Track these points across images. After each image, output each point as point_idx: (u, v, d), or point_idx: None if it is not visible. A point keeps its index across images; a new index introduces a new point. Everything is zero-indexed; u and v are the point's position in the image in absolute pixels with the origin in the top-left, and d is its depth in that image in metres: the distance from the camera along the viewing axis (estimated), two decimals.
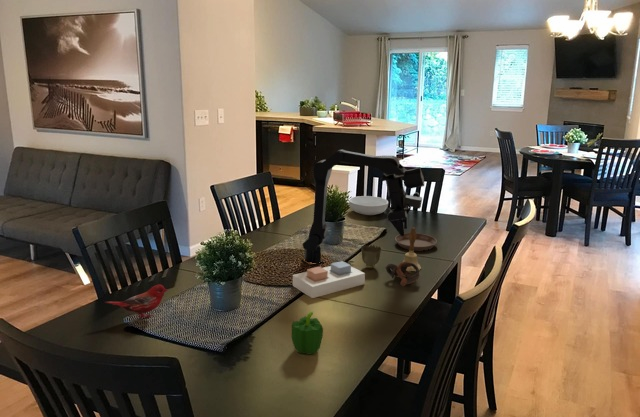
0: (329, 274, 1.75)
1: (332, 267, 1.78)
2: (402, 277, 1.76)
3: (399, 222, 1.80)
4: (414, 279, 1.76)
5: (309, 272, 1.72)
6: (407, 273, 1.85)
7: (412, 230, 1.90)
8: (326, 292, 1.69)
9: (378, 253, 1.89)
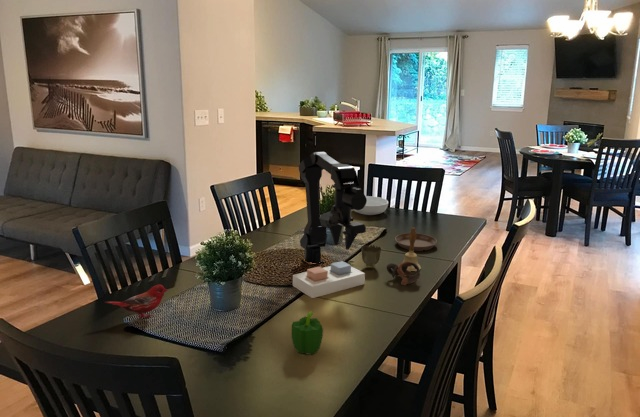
0: (329, 274, 1.75)
1: (332, 267, 1.78)
2: (403, 277, 1.77)
3: None
4: (415, 279, 1.77)
5: (309, 272, 1.72)
6: (408, 273, 1.85)
7: (412, 230, 1.90)
8: (326, 292, 1.69)
9: (378, 253, 1.89)
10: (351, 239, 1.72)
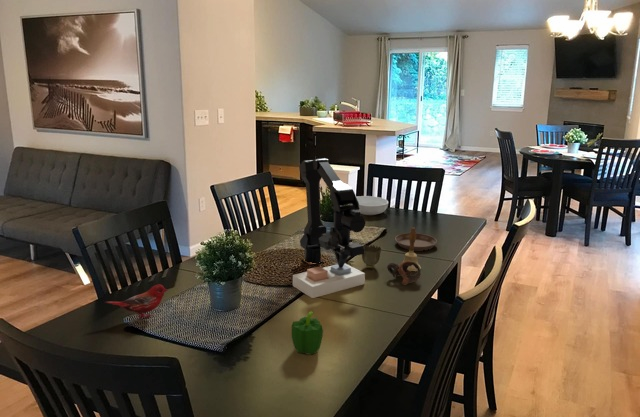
0: (329, 274, 1.75)
1: (332, 270, 1.78)
2: (404, 276, 1.77)
3: None
4: (416, 278, 1.77)
5: (309, 272, 1.72)
6: (408, 272, 1.86)
7: (412, 230, 1.90)
8: (326, 292, 1.69)
9: (378, 253, 1.89)
10: (345, 257, 1.76)
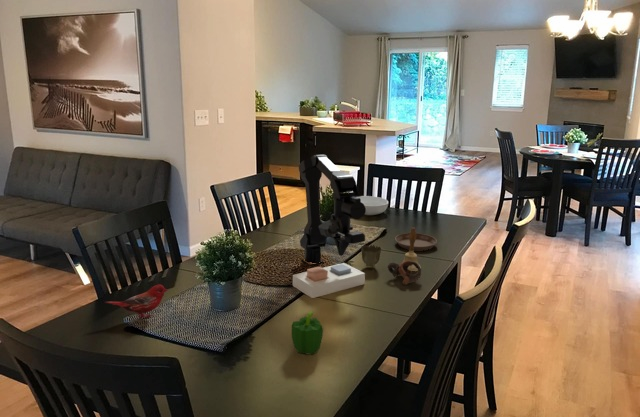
0: (329, 274, 1.75)
1: (332, 270, 1.78)
2: (404, 276, 1.77)
3: None
4: (416, 278, 1.78)
5: (309, 272, 1.72)
6: (409, 272, 1.86)
7: (412, 230, 1.90)
8: (326, 292, 1.69)
9: (378, 253, 1.89)
10: (345, 245, 1.75)
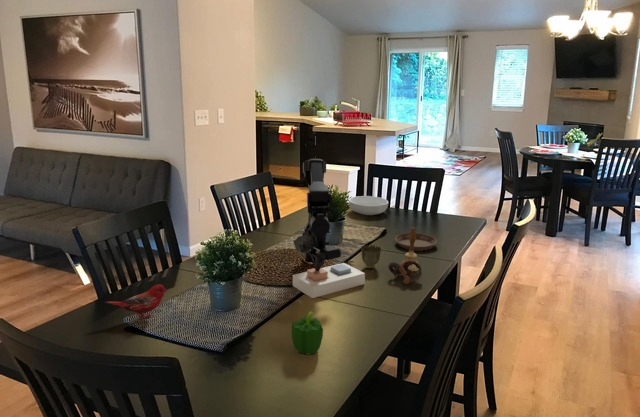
0: (329, 274, 1.75)
1: (332, 270, 1.78)
2: (405, 275, 1.78)
3: None
4: (417, 277, 1.78)
5: (309, 272, 1.72)
6: (409, 271, 1.86)
7: (412, 230, 1.90)
8: (326, 292, 1.69)
9: (378, 253, 1.89)
10: (321, 261, 1.71)
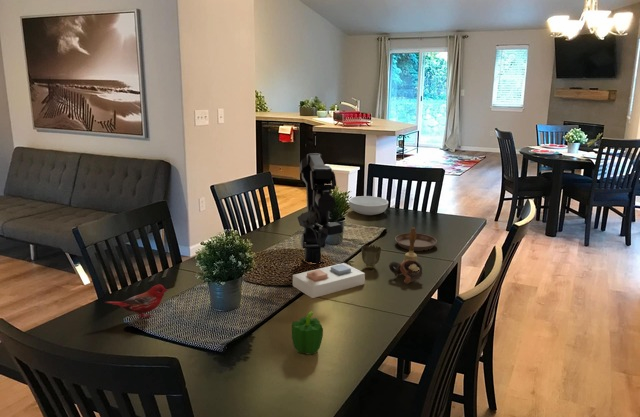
0: (329, 274, 1.75)
1: (332, 270, 1.78)
2: (406, 275, 1.78)
3: None
4: (417, 277, 1.79)
5: (309, 275, 1.72)
6: (410, 271, 1.87)
7: (412, 230, 1.90)
8: (326, 292, 1.69)
9: (378, 253, 1.89)
10: (324, 236, 1.77)
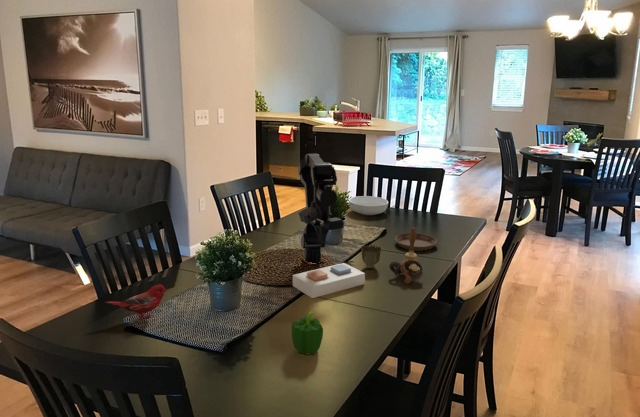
0: (329, 274, 1.75)
1: (332, 270, 1.78)
2: (406, 275, 1.78)
3: None
4: (418, 276, 1.79)
5: (309, 275, 1.72)
6: (410, 271, 1.87)
7: (412, 230, 1.90)
8: (326, 292, 1.69)
9: (378, 253, 1.89)
10: (325, 232, 1.79)
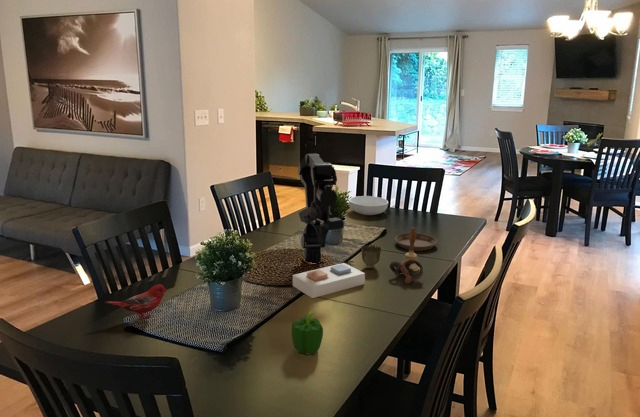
0: (329, 274, 1.75)
1: (332, 270, 1.78)
2: (406, 274, 1.79)
3: None
4: (418, 276, 1.79)
5: (309, 275, 1.72)
6: (410, 270, 1.87)
7: (412, 230, 1.90)
8: (326, 292, 1.69)
9: (378, 253, 1.89)
10: (325, 232, 1.79)
